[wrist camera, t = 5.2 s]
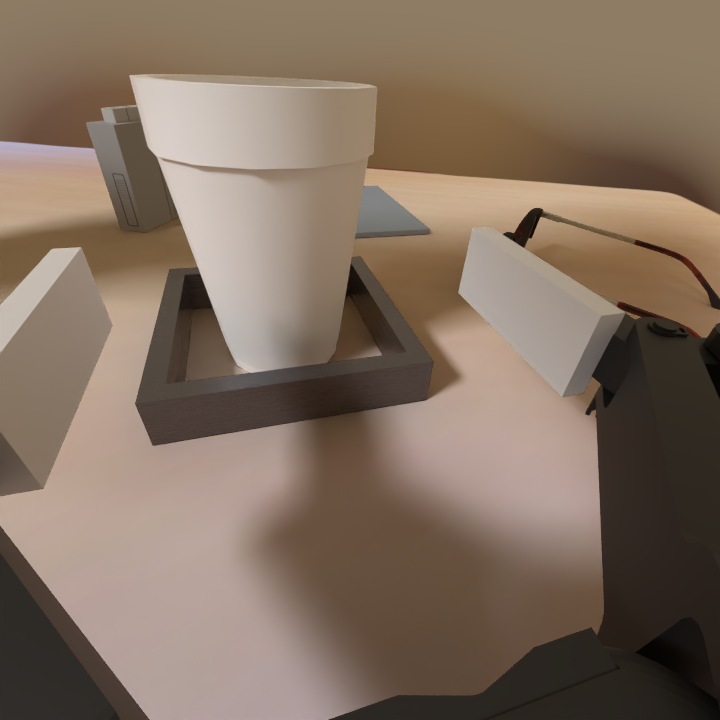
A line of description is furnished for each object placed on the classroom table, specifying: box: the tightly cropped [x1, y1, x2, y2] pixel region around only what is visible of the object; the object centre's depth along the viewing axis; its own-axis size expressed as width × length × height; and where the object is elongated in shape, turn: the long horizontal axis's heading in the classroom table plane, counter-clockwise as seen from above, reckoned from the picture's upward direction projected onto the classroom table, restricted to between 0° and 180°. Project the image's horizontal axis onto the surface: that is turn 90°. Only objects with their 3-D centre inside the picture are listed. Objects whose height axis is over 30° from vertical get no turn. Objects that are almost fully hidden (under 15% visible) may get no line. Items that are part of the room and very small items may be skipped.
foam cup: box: [130, 74, 377, 373], centre depth 20 cm, size 10×9×13 cm
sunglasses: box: [503, 208, 720, 338], centre depth 29 cm, size 14×16×5 cm
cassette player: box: [86, 105, 179, 233], centre depth 41 cm, size 16×3×10 cm, turn 165°
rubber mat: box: [355, 186, 430, 238], centre depth 45 cm, size 18×18×1 cm
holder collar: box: [135, 256, 434, 445], centre depth 23 cm, size 13×13×2 cm
